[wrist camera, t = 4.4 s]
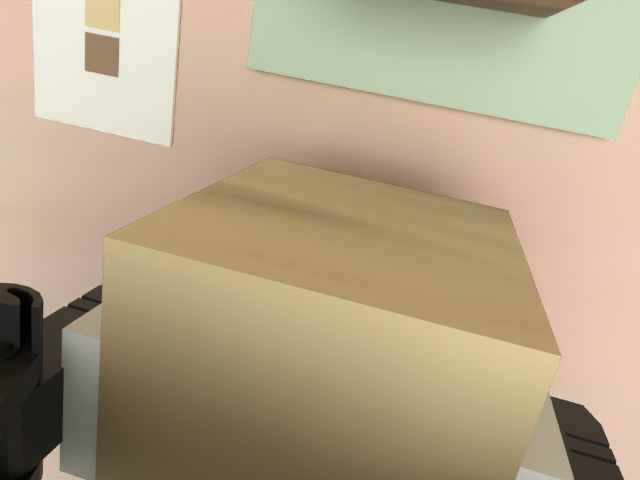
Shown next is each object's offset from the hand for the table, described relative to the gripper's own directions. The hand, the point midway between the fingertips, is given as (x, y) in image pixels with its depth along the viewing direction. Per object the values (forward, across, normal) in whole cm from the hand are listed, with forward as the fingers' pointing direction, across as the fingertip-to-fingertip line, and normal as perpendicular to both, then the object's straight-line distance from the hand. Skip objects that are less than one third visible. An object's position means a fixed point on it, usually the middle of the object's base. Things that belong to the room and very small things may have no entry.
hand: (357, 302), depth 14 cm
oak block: (0, 0, 0) cm, 0 cm away
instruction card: (+6, +12, -6) cm, 15 cm away
